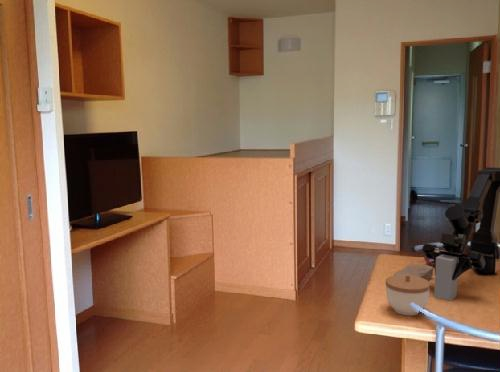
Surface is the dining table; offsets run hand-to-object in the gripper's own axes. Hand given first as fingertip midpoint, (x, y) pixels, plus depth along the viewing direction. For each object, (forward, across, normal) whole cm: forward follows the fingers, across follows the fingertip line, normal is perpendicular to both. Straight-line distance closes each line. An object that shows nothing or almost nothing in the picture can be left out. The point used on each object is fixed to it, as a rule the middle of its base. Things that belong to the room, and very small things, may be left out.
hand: (444, 277), depth 149 cm
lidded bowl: (+17, -3, -8) cm, 19 cm away
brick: (0, -14, +11) cm, 18 cm away
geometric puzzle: (-16, -17, +26) cm, 35 cm away
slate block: (+4, 0, +6) cm, 7 cm away
